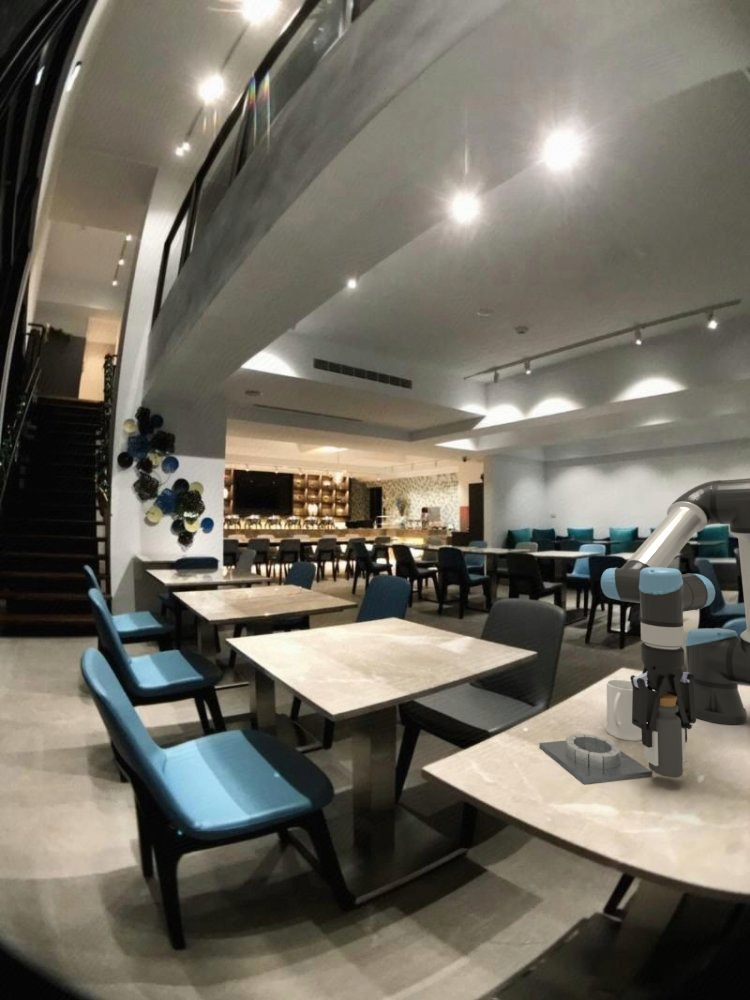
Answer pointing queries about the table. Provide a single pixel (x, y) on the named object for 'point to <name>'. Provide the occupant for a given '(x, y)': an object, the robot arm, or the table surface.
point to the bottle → (668, 738)
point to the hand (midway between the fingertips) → (665, 760)
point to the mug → (621, 711)
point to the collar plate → (594, 772)
